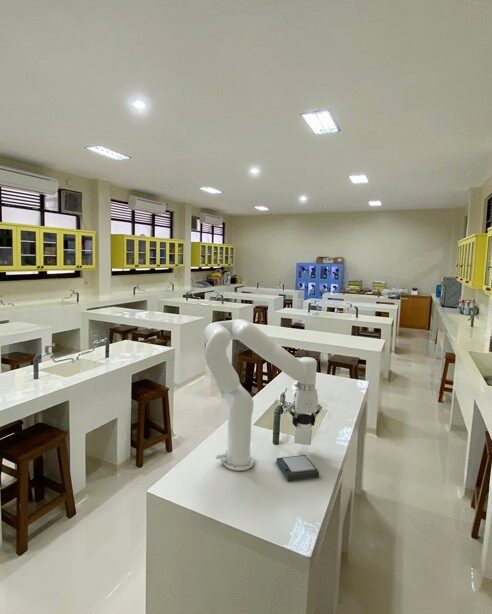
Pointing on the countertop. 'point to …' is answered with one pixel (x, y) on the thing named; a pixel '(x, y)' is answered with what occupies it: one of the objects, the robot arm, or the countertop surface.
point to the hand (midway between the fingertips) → (303, 424)
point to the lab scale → (297, 468)
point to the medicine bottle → (303, 429)
